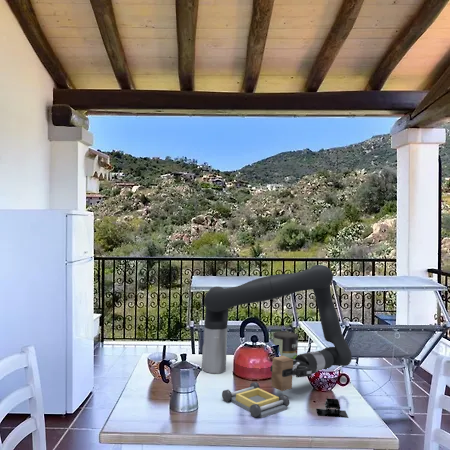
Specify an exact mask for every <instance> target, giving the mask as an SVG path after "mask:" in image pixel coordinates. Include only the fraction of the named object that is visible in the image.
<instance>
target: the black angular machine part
mask: <svg viewBox="0 0 450 450" xmlns="http://www.w3.org/2000/svg"><path fill="white" fill-rule="evenodd" d="M315 409H316V410H315V411H316V414H317V416H318V417H330V418H331V417H332V418H342V419H343V418H344V419H349V416H348V413H347V412H346V410H342V409H341V404H340V402H339V399H338V398H325V401H324V408H315Z"/></svg>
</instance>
